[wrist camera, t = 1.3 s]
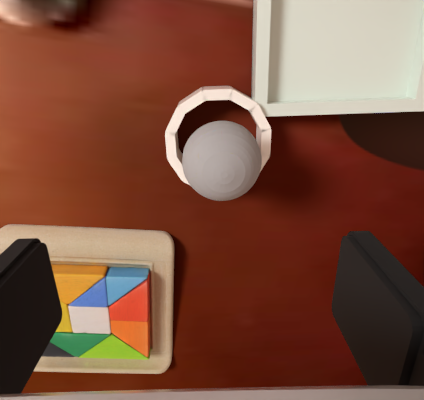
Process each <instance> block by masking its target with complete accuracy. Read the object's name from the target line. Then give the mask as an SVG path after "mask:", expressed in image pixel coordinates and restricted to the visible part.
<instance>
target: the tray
mask: <svg viewBox="0 0 424 400" xmlns="http://www.w3.org/2000/svg"><path fill="white" fill-rule="evenodd" d="M251 98H252V99H253V100H254V101H255V102H257V103H258V105H259V106H260V108H261V110H262V112H263V114H264V116H265V117H270V116H299V115H328V114H357V113H384V112H385V113H386V112H413V111H424V0H253V45H252V97H251Z"/></svg>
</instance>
